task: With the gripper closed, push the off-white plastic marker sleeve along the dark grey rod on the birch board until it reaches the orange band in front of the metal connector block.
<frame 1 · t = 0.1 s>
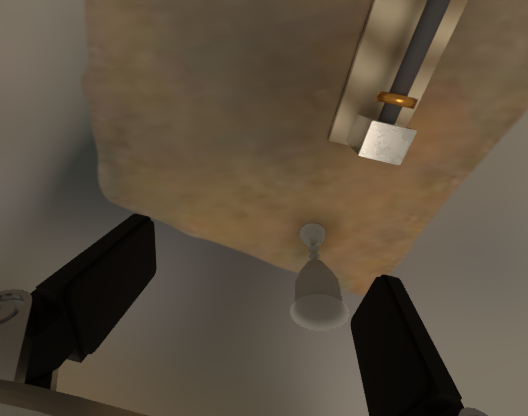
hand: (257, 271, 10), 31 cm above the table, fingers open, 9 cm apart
chalice: (312, 233, 45), on the table
dark grey rod: (422, 37, 24), point 6 cm above the table
cord rig: (397, 48, 30), on the table
connector: (380, 125, 29), point 6 cm above the table
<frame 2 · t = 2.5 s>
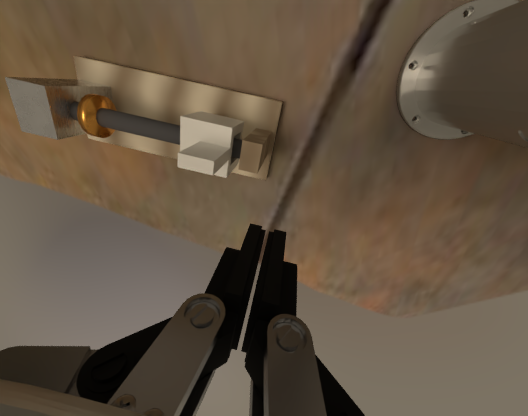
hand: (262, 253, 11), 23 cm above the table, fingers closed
dark grey rod: (151, 128, 25), point 6 cm above the table
cord rig: (181, 120, 31), on the table
sleeve: (205, 147, 23), point 9 cm above the table, slide at 0.0 cm
connector: (82, 109, 26), point 6 cm above the table
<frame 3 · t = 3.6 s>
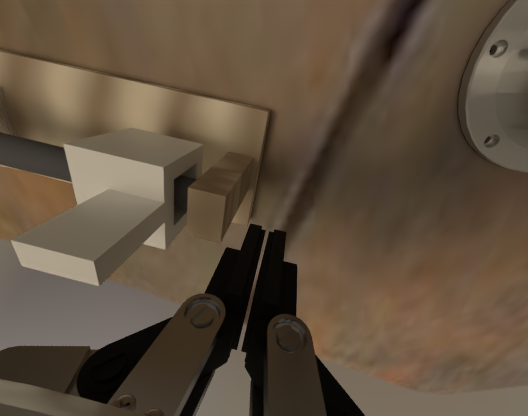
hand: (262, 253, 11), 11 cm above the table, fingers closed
dark grey rod: (41, 158, 14), point 6 cm above the table
cord rig: (119, 137, 21), on the table
sleeve: (122, 199, 12), point 9 cm above the table, slide at 0.0 cm
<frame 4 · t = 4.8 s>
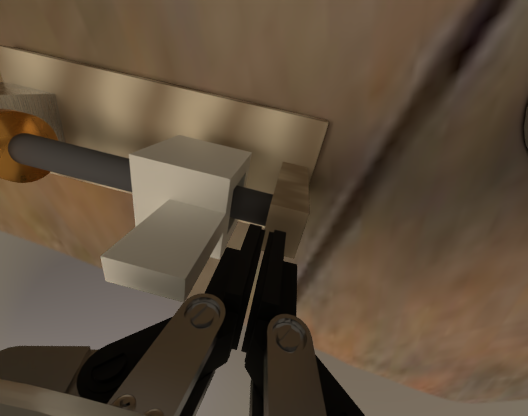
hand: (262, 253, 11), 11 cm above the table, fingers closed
dark grey rod: (107, 169, 14), point 6 cm above the table
cord rig: (166, 145, 20), on the table
sleeve: (180, 209, 12), point 9 cm above the table, slide at 1.1 cm, touching gripper
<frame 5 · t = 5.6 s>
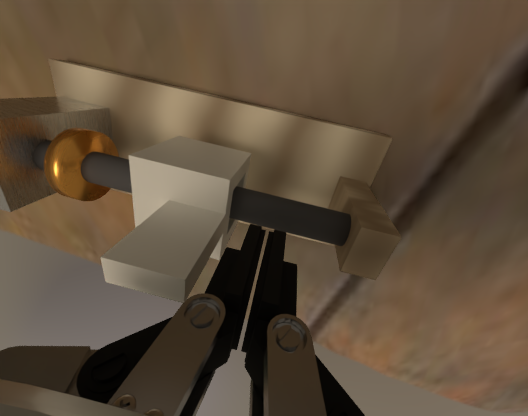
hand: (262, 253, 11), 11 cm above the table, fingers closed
dark grey rod: (177, 188, 14), point 6 cm above the table
cord rig: (215, 157, 20), on the table
sleeve: (180, 210, 12), point 9 cm above the table, slide at 5.7 cm, touching gripper
connector: (61, 149, 16), point 6 cm above the table
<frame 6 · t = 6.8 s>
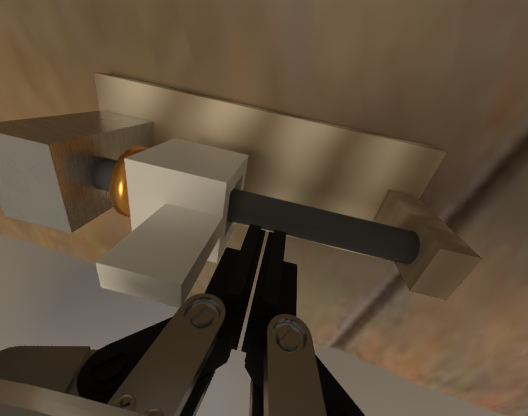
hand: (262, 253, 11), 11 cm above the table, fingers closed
dark grey rod: (237, 205, 14), point 6 cm above the table
cord rig: (256, 170, 20), on the table
sleeve: (177, 213, 12), point 9 cm above the table, slide at 9.7 cm, touching gripper
connector: (112, 166, 15), point 6 cm above the table
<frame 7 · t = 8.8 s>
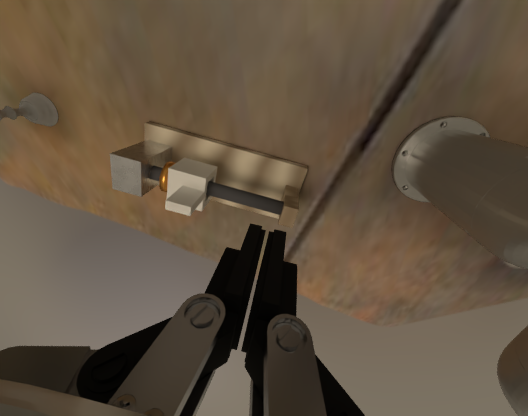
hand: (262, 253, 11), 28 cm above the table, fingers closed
chalice: (43, 109, 38), on the table
dark grey rod: (211, 188, 33), point 6 cm above the table
cord rig: (224, 172, 39), on the table
sleeve: (186, 189, 31), point 9 cm above the table, slide at 9.7 cm
connector: (154, 168, 34), point 6 cm above the table
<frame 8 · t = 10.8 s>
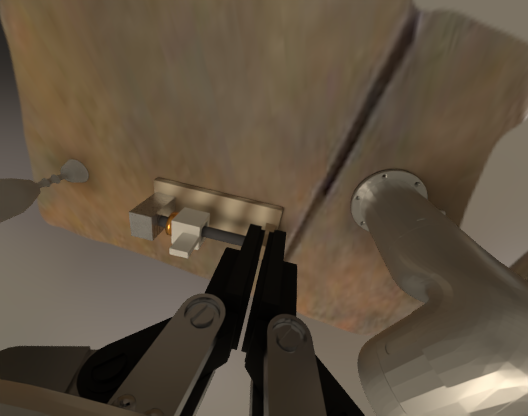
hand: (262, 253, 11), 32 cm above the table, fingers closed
chalice: (77, 170, 49), on the table
dark grey rod: (205, 231, 42), point 6 cm above the table
cord rig: (217, 213, 48), on the table
sleeve: (185, 234, 40), point 9 cm above the table, slide at 9.7 cm
connector: (162, 216, 44), point 6 cm above the table
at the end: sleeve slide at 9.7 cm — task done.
